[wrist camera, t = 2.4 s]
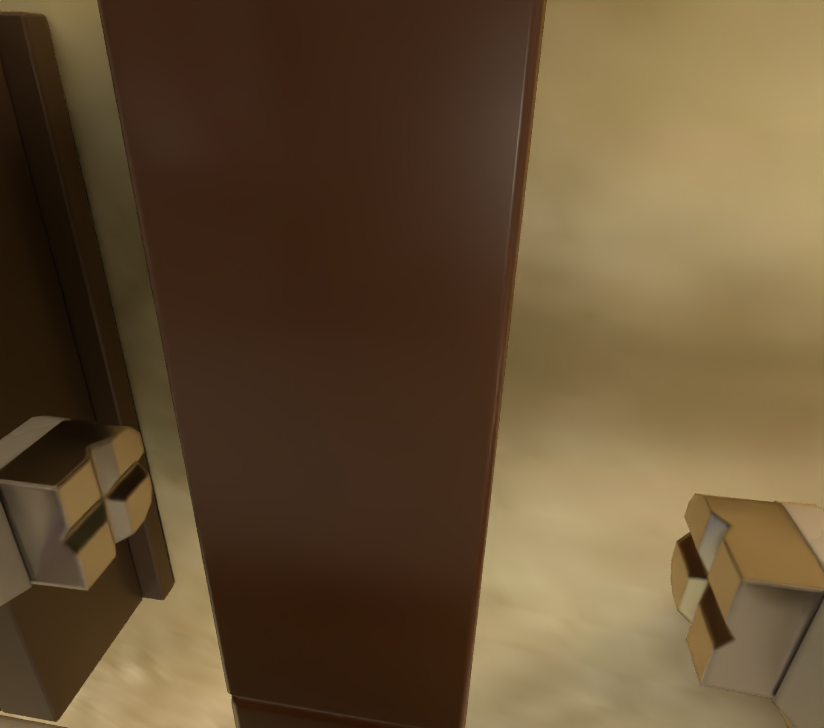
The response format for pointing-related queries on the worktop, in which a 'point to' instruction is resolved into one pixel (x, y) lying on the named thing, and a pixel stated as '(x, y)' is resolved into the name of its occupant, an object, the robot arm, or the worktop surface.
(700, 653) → the robot arm
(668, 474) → the worktop surface
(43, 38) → the holder
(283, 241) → the frame
